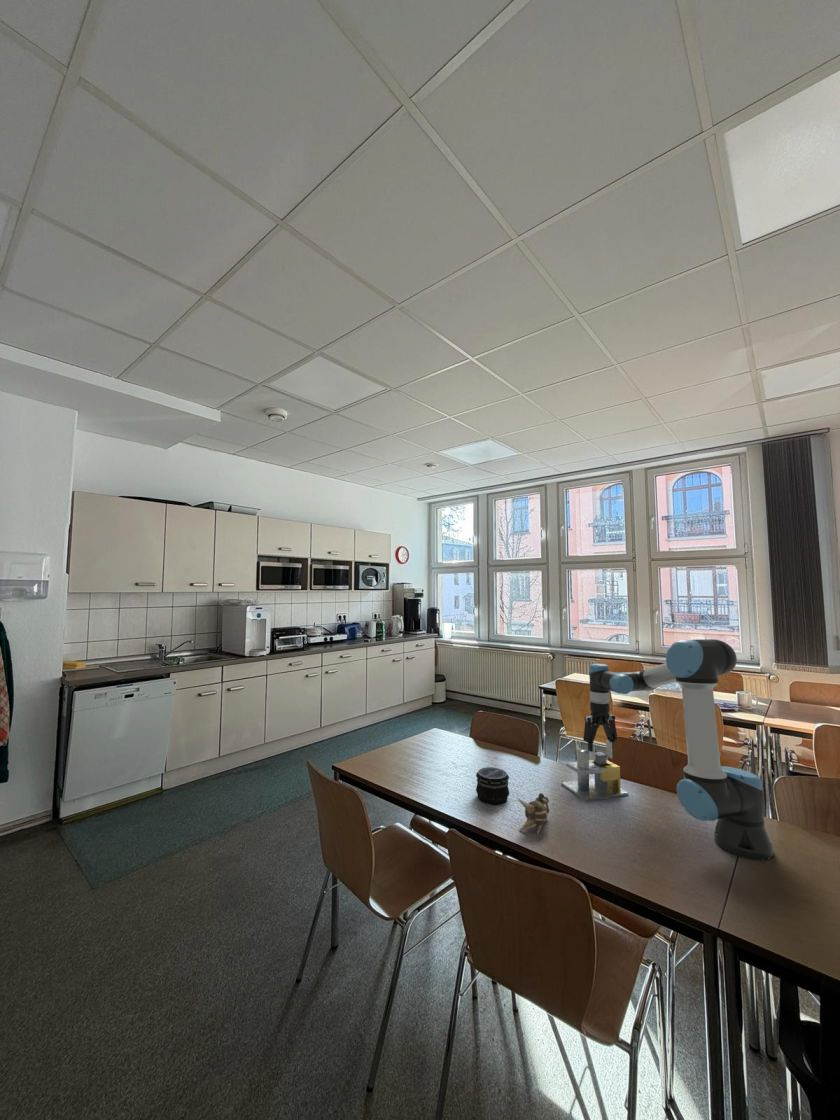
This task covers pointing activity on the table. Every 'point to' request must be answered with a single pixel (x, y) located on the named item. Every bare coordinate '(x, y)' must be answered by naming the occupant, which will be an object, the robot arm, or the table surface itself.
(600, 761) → the pin
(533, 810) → the toy
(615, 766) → the grey frame
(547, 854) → the table surface
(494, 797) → the container
